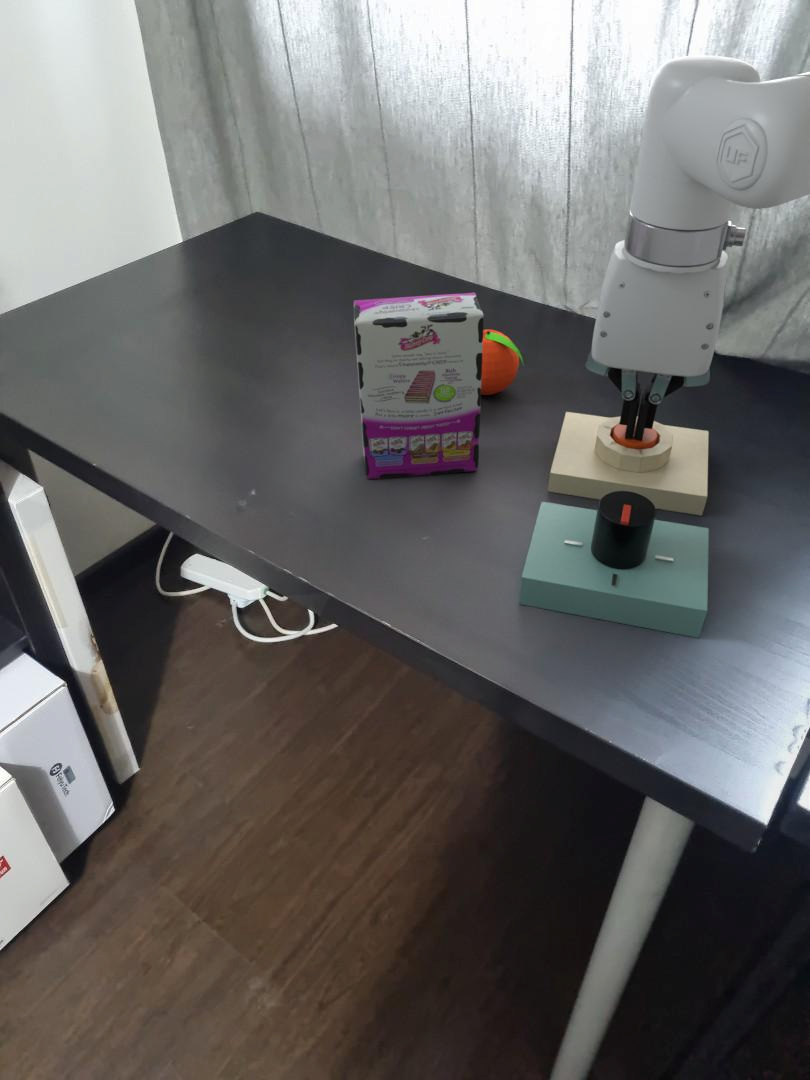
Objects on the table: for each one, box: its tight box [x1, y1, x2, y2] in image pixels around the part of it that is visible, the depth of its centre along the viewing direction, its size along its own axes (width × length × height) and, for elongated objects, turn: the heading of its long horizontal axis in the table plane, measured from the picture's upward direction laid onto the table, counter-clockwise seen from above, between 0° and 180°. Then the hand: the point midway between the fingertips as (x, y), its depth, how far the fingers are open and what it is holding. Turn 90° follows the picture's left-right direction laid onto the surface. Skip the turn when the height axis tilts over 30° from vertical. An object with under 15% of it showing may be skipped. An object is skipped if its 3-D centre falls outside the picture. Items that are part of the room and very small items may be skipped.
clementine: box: [481, 329, 525, 396], centre depth 89 cm, size 8×7×7 cm
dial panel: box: [518, 501, 710, 639], centre depth 68 cm, size 14×10×3 cm
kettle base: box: [547, 411, 710, 517], centre depth 79 cm, size 14×11×4 cm
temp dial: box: [591, 491, 657, 569], centre depth 65 cm, size 4×4×5 cm
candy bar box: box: [353, 292, 485, 480], centre depth 76 cm, size 11×5×16 cm, turn 95°
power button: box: [612, 422, 657, 450], centre depth 78 cm, size 4×4×2 cm
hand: (634, 431), depth 78 cm, fingers closed
